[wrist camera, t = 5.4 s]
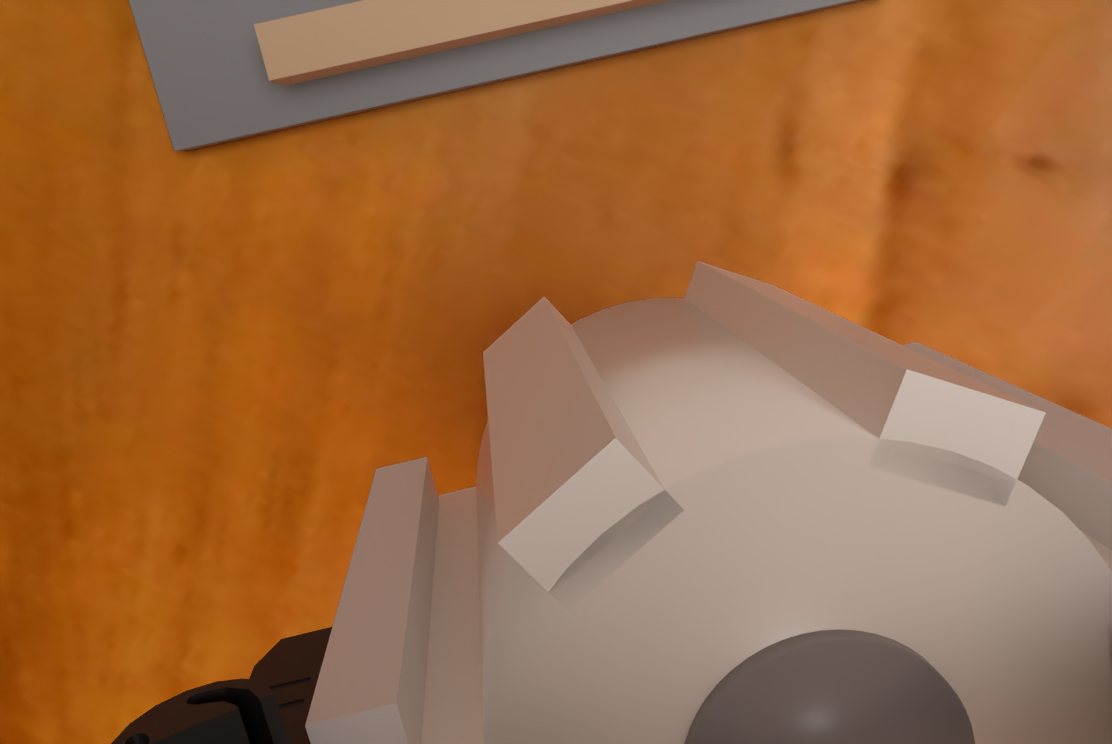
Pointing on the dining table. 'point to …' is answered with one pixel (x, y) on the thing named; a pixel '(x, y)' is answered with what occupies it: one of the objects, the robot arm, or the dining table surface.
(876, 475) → the planet gear
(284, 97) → the carrier plate
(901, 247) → the dining table surface
